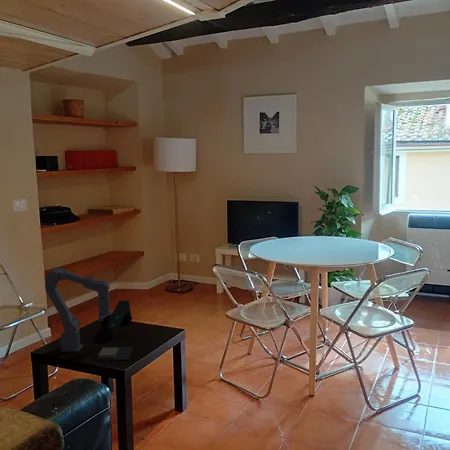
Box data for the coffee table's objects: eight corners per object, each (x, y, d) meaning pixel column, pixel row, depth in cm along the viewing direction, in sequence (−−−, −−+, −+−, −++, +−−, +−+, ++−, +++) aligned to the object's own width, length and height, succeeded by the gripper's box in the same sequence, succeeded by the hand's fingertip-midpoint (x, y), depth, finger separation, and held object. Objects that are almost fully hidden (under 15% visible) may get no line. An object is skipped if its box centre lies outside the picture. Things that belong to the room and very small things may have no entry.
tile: (103, 350, 249) (98, 358, 240) (103, 347, 248) (98, 355, 240) (118, 350, 248) (114, 358, 240) (118, 347, 248) (113, 355, 239)
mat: (95, 360, 238) (95, 359, 238) (103, 348, 253) (103, 347, 253) (127, 360, 238) (127, 359, 238) (133, 348, 253) (133, 347, 253)
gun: (133, 317, 294) (129, 297, 287) (117, 350, 268) (112, 329, 261) (123, 317, 295) (119, 297, 288) (106, 350, 269) (101, 329, 262)
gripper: (107, 309, 243) (109, 334, 246) (115, 300, 258) (116, 324, 260) (94, 309, 244) (95, 334, 246) (102, 300, 258) (103, 324, 260)
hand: (105, 329), depth 253 cm, fingers closed
